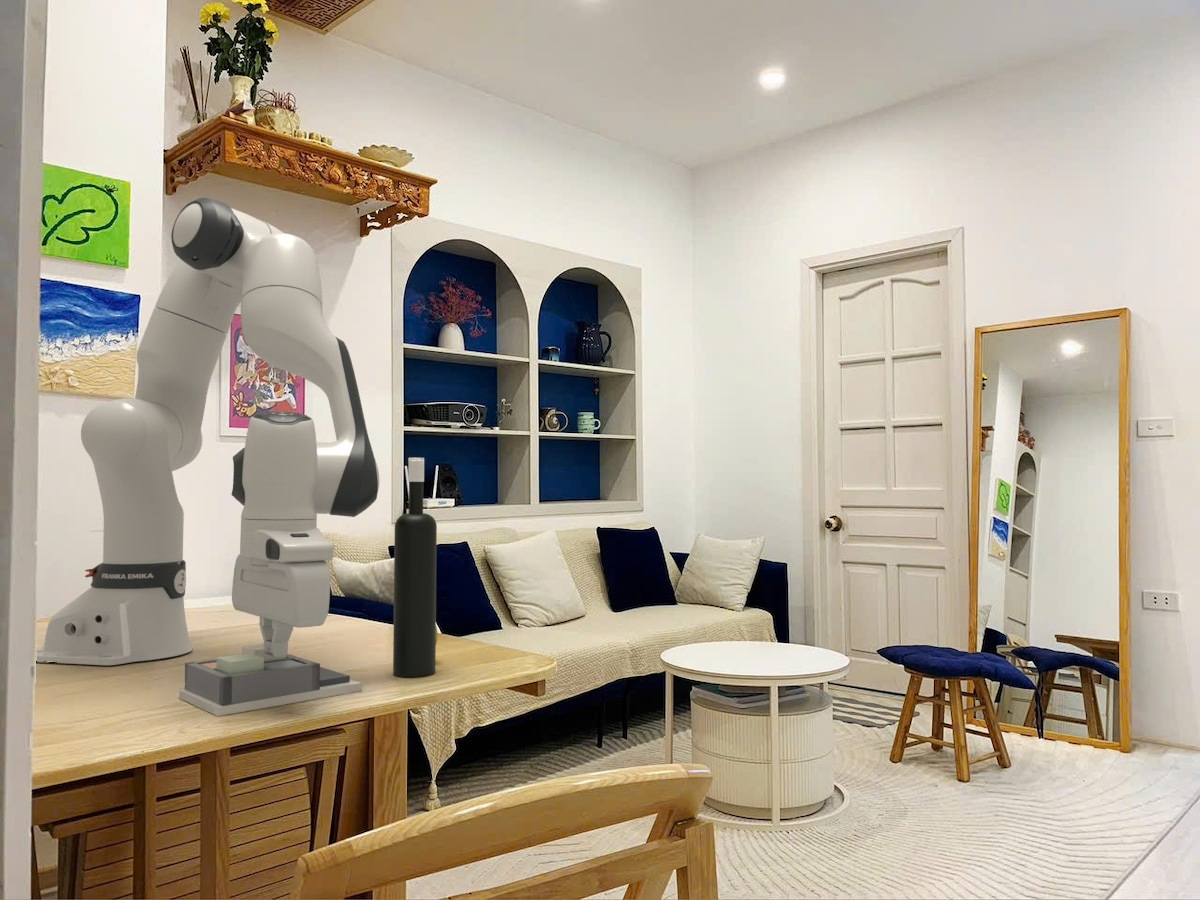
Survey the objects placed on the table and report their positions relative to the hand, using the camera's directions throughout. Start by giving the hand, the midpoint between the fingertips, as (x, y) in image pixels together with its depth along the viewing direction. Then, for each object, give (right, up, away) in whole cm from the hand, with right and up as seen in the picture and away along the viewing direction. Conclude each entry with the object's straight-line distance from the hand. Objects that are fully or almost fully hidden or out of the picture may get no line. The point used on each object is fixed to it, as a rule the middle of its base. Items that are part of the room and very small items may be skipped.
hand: (275, 655), depth 110 cm
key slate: (+1, -3, 0) cm, 3 cm away
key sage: (-3, -2, -3) cm, 5 cm away
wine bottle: (+14, -6, +15) cm, 21 cm away
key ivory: (-3, -2, +4) cm, 5 cm away
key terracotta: (-7, -3, 0) cm, 7 cm away
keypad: (-1, -5, +2) cm, 6 cm away
